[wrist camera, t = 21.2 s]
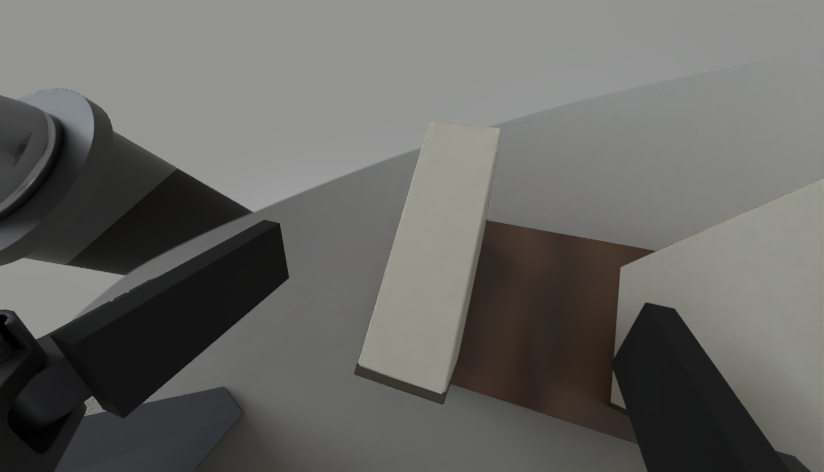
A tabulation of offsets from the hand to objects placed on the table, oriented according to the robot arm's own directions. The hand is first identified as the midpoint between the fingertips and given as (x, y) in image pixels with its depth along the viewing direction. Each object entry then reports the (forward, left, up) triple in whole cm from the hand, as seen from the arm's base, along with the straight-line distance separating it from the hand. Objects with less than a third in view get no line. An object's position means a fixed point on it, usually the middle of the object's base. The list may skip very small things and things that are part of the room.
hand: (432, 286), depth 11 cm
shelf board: (+5, +4, -11) cm, 12 cm away
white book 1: (0, +1, -9) cm, 9 cm away
